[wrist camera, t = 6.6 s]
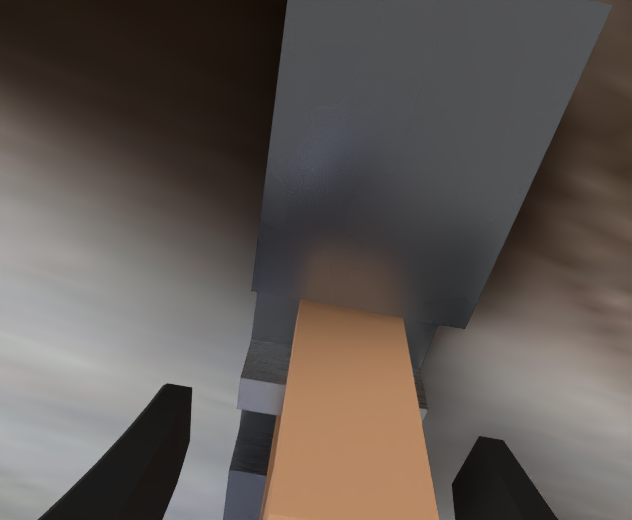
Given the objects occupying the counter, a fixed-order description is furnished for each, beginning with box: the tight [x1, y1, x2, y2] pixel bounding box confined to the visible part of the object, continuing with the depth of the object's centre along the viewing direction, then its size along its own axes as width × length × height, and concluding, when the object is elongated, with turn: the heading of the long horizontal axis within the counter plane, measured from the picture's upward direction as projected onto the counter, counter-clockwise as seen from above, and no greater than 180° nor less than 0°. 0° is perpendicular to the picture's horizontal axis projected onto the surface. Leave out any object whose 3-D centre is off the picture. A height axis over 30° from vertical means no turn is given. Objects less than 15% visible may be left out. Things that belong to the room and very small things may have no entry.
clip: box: [259, 300, 439, 520], centre depth 11 cm, size 5×3×6 cm, turn 169°
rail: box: [223, 0, 613, 520], centre depth 13 cm, size 20×5×3 cm, turn 170°
